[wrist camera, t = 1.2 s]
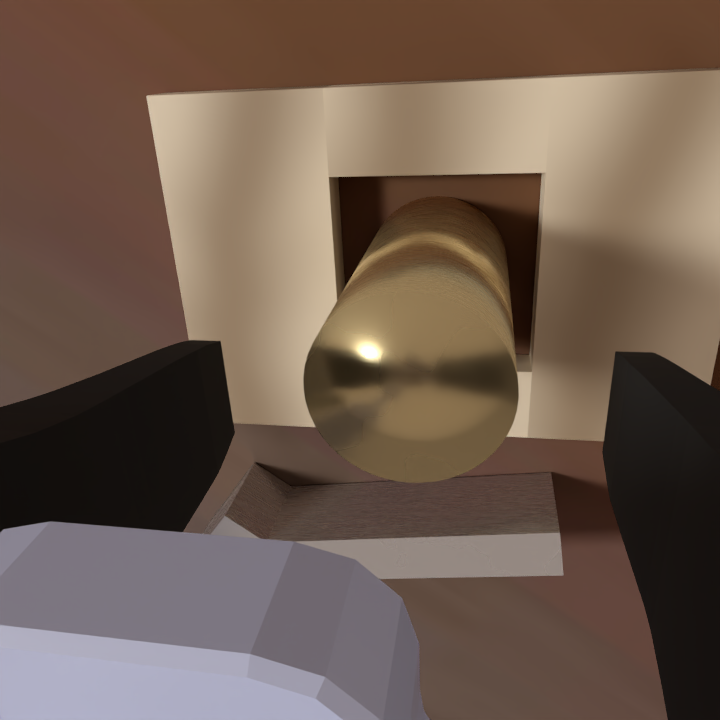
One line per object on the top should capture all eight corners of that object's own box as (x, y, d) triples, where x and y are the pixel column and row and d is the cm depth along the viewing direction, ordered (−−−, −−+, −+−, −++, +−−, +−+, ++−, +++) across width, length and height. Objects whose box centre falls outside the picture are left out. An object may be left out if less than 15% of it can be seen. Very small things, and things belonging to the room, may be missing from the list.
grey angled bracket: (577, 491, 22) (590, 553, 19) (317, 719, 29) (300, 787, 26) (352, 333, 21) (332, 376, 18) (141, 611, 28) (105, 670, 25)
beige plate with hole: (754, 66, 16) (774, 67, 15) (687, 424, 20) (698, 445, 19) (166, 92, 18) (146, 95, 17) (216, 403, 23) (203, 421, 22)
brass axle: (504, 329, 20) (513, 488, 13) (372, 326, 20) (311, 476, 13) (510, 195, 18) (525, 293, 11) (366, 197, 19) (294, 290, 12)
